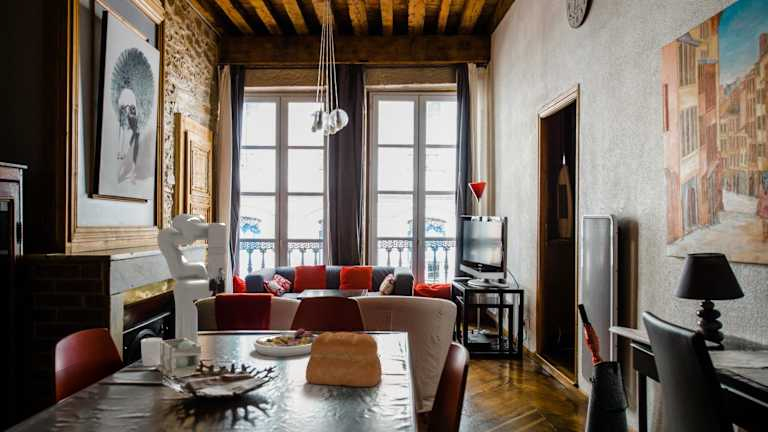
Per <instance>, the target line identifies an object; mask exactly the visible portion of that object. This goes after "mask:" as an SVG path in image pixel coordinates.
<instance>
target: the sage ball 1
mask: <svg viewBox="0 0 768 432" xmlns="http://www.w3.org/2000/svg"><path fill="white" fill-rule="evenodd" d="M189 347H193V344H192V343H191V342H189V341H183V342H181V343H180V344H179V346H178V349H182V348H189Z"/></svg>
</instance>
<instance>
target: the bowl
mask: <svg viewBox="0 0 768 432" xmlns="http://www.w3.org/2000/svg"><path fill="white" fill-rule="evenodd" d="M318 336H319V335H315V334H313V333H312V332H311V331H306V330H305V329H304V328H299V329H297V330H296V331H295V333H293V332H292V333H291V332H290V333H279V334H278V333H277V334H269V335H264V336H262V337H259V338H256V339H255V340H253V346H254V350H255V351H256V352H257V353H259V354H261V355H262V356H267V357H275V358H276V357H277V358H280V357H281V358H286V357H289V358H290V357H298V356H299V357H300V356H304V355H308V354H311V345H312V343H313V341H314V340H315V338H316V337H318Z"/></svg>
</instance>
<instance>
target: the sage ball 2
mask: <svg viewBox="0 0 768 432" xmlns="http://www.w3.org/2000/svg"><path fill="white" fill-rule="evenodd" d="M187 365H188V359H187V357H179V358H176V368H181V367H187Z"/></svg>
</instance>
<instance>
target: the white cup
mask: <svg viewBox="0 0 768 432" xmlns="http://www.w3.org/2000/svg"><path fill="white" fill-rule="evenodd" d="M160 341H163V338H162V337H148V338H143V339H141V340H140V343H141V344H140V345H141V346H140V348H141V361H142V363H141V364H142V366H144V367H153V366H156V364H160Z"/></svg>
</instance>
